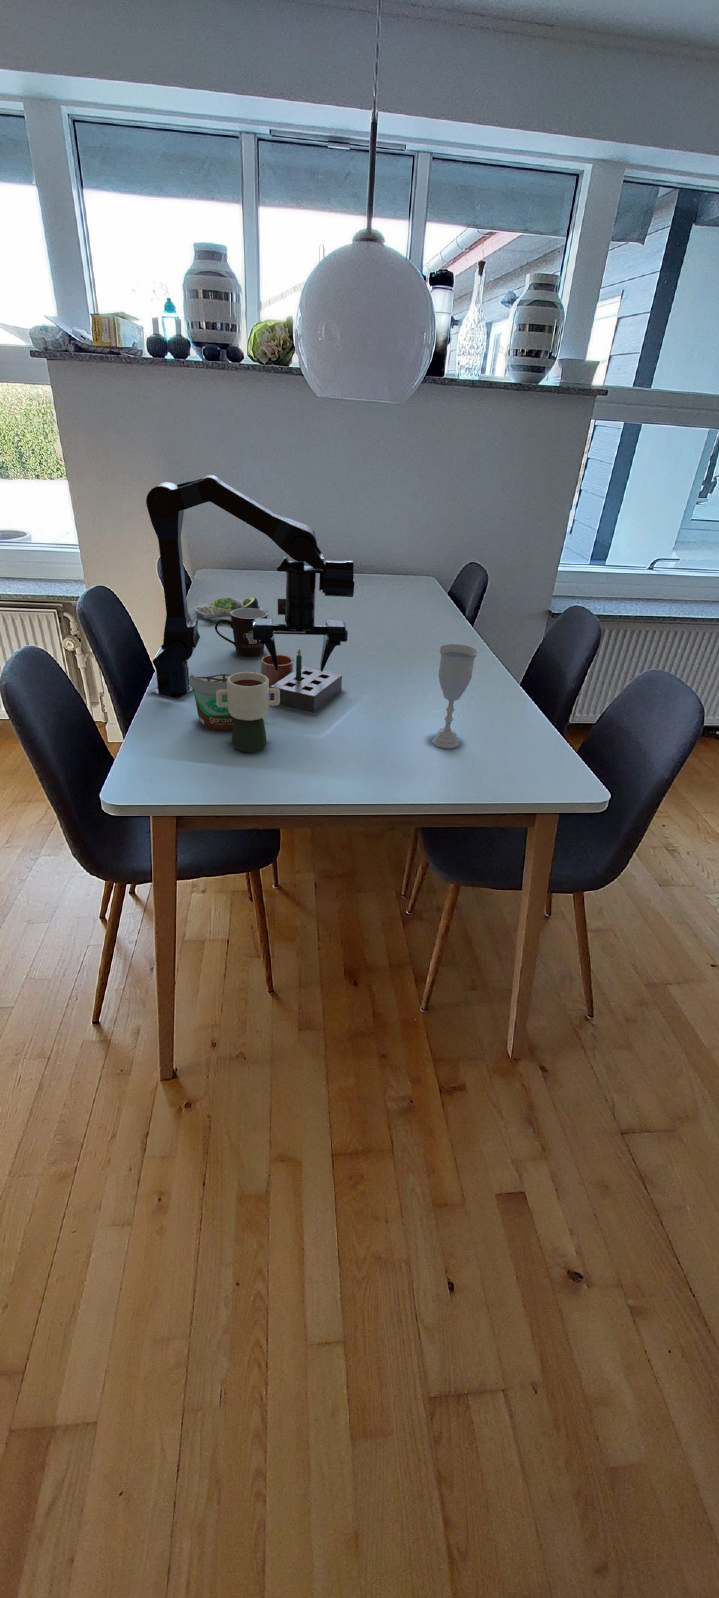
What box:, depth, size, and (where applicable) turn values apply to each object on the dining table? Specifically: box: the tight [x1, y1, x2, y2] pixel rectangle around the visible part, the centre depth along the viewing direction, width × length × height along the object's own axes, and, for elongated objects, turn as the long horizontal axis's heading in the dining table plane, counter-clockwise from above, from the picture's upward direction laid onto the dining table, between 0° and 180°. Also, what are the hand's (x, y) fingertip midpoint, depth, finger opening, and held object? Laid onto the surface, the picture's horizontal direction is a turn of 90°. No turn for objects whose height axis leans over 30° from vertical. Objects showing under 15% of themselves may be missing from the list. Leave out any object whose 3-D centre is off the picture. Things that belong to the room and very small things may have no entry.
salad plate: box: [194, 596, 269, 623], centre depth 189 cm, size 19×18×5 cm
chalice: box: [432, 643, 479, 749], centre depth 126 cm, size 7×7×18 cm
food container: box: [189, 670, 254, 733], centre depth 127 cm, size 12×6×10 cm, turn 105°
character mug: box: [216, 671, 280, 753], centre depth 120 cm, size 11×7×13 cm, turn 103°
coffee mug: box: [214, 608, 269, 658], centre depth 162 cm, size 12×9×10 cm
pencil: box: [295, 648, 303, 681], centre depth 142 cm, size 1×1×10 cm
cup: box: [260, 654, 294, 687], centre depth 149 cm, size 7×7×5 cm
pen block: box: [270, 666, 343, 714], centre depth 143 cm, size 10×14×4 cm
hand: (299, 670), depth 142 cm, fingers open, 9 cm apart
